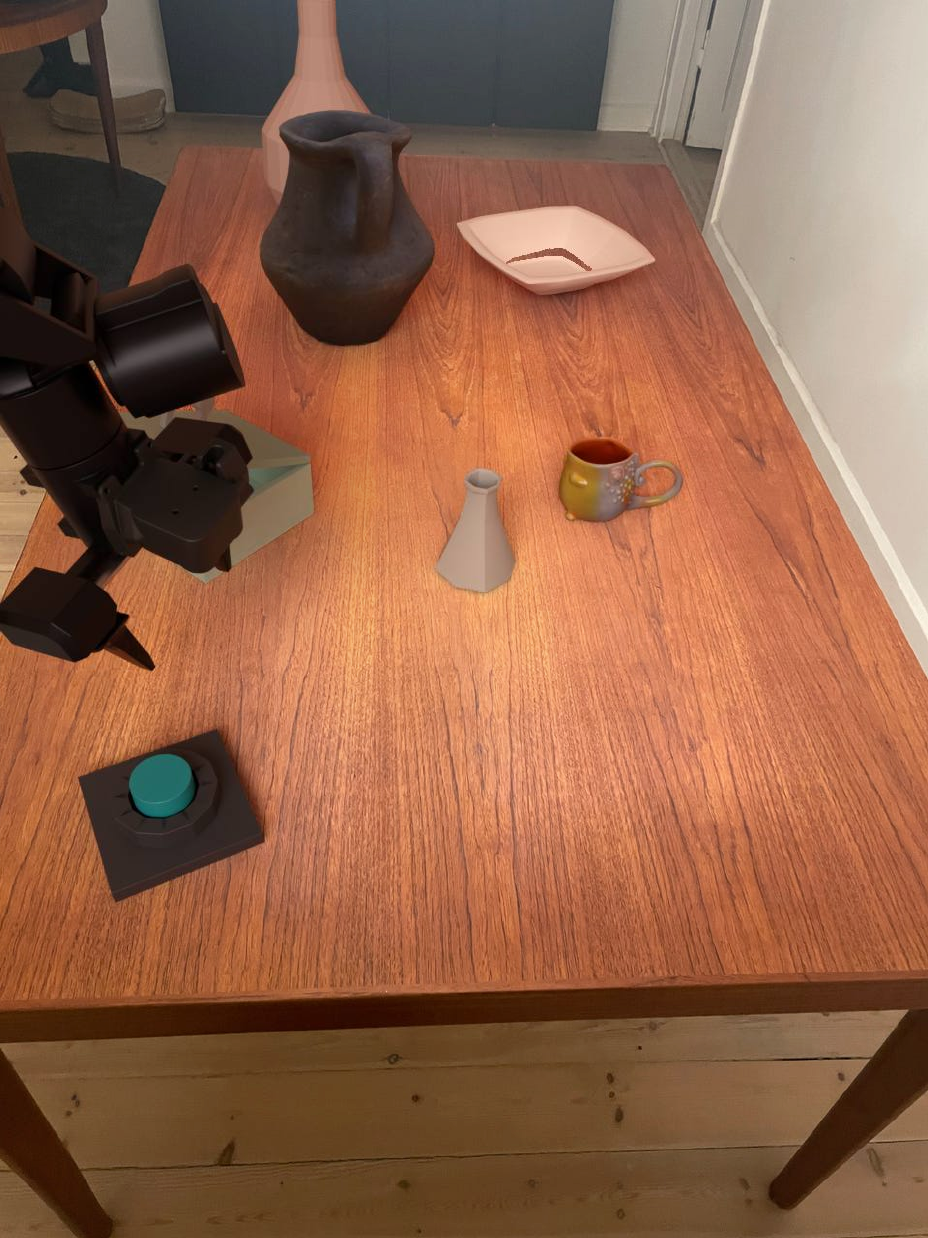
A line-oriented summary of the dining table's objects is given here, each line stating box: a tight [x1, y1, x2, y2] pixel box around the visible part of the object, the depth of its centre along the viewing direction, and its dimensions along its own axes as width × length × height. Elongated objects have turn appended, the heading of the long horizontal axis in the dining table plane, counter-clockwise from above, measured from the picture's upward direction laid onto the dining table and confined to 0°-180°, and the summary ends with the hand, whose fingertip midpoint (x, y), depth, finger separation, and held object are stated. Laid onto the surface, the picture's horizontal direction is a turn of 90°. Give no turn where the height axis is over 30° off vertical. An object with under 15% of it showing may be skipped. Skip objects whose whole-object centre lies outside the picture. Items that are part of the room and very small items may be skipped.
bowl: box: [456, 205, 656, 296], centre depth 126 cm, size 22×23×6 cm
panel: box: [77, 728, 265, 903], centre depth 62 cm, size 10×10×3 cm
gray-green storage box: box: [175, 462, 315, 585], centre depth 84 cm, size 14×12×6 cm
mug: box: [558, 436, 684, 523], centre depth 89 cm, size 12×7×7 cm, turn 84°
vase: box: [261, 0, 372, 207], centre depth 128 cm, size 18×18×30 cm
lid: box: [118, 397, 312, 469], centre depth 79 cm, size 14×12×5 cm
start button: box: [129, 754, 195, 818], centre depth 61 cm, size 4×4×2 cm
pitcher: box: [259, 110, 436, 346], centre depth 106 cm, size 21×22×25 cm
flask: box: [434, 467, 516, 594], centre depth 80 cm, size 7×7×10 cm
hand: (188, 617), depth 63 cm, fingers open, 9 cm apart
